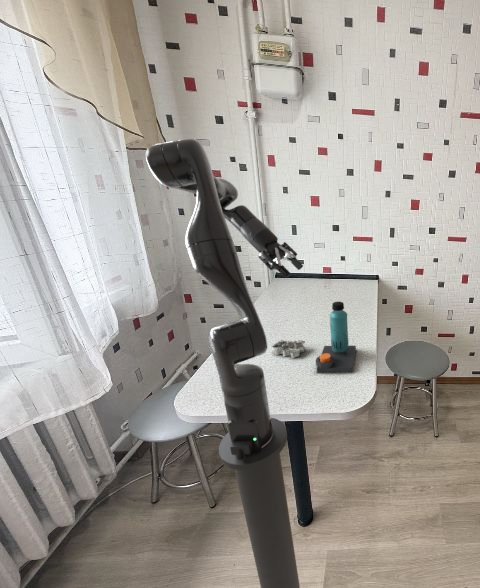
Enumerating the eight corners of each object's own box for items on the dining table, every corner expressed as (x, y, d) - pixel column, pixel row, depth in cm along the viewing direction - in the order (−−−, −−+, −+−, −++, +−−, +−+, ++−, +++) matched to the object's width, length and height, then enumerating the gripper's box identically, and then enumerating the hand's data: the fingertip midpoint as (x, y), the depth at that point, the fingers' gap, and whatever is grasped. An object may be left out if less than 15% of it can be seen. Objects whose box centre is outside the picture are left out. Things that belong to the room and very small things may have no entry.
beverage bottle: (347, 345, 128) (345, 298, 120) (350, 354, 122) (348, 305, 115) (330, 348, 126) (327, 300, 118) (332, 357, 120) (329, 307, 112)
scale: (352, 372, 115) (351, 364, 114) (314, 373, 114) (314, 364, 113) (355, 349, 129) (355, 341, 128) (322, 349, 128) (322, 342, 127)
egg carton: (307, 349, 128) (306, 340, 126) (295, 360, 121) (294, 350, 119) (283, 344, 130) (282, 335, 129) (270, 354, 124) (269, 344, 122)
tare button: (329, 363, 115) (329, 358, 114) (319, 363, 114) (318, 358, 114) (331, 357, 118) (331, 353, 117) (321, 357, 118) (320, 353, 117)
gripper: (265, 238, 115) (298, 272, 118) (238, 247, 102) (276, 285, 104) (277, 224, 112) (311, 259, 115) (251, 231, 99) (290, 271, 102)
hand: (295, 271), depth 110 cm, fingers open, 8 cm apart
